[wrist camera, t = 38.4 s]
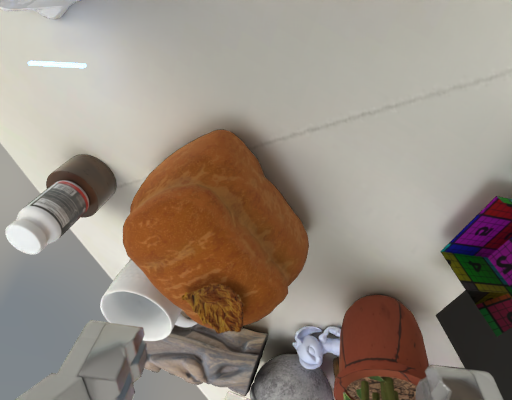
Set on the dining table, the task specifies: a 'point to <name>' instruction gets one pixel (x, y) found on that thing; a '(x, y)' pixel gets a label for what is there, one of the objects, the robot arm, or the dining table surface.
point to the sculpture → (208, 356)
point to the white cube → (234, 397)
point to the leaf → (217, 307)
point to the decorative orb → (290, 381)
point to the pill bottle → (47, 217)
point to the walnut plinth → (87, 180)
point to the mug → (141, 305)
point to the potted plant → (379, 351)
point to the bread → (215, 227)
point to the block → (483, 294)
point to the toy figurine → (315, 345)
